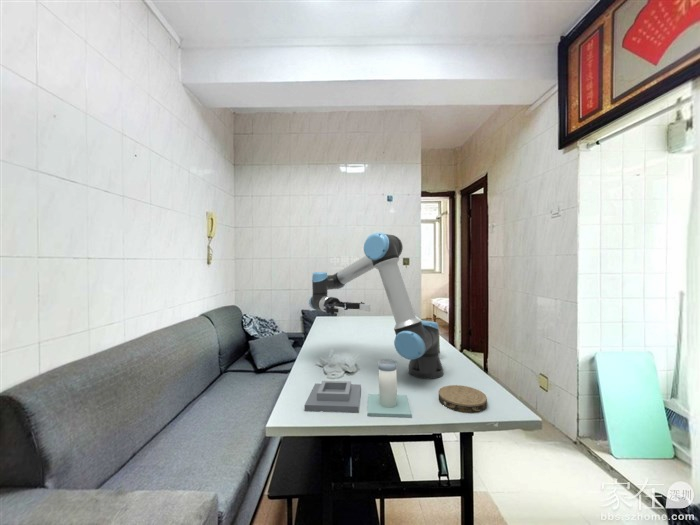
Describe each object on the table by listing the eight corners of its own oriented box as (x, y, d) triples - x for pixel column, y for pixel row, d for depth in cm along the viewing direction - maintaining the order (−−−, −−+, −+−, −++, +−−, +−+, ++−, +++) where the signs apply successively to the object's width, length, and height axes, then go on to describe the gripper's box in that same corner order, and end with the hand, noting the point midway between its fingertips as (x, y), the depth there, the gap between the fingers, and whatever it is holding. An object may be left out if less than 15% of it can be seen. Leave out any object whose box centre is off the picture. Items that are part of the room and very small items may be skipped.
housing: (361, 389, 116) (360, 378, 116) (358, 412, 98) (358, 398, 98) (315, 388, 117) (315, 377, 117) (304, 411, 99) (304, 397, 99)
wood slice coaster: (495, 414, 96) (495, 404, 96) (446, 414, 97) (446, 404, 97) (476, 393, 112) (475, 385, 112) (433, 393, 113) (433, 385, 113)
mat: (406, 397, 108) (406, 395, 108) (411, 417, 94) (411, 414, 94) (368, 396, 109) (368, 394, 109) (367, 416, 95) (367, 412, 95)
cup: (396, 399, 105) (395, 359, 105) (398, 407, 98) (397, 365, 99) (379, 399, 105) (378, 359, 105) (379, 407, 99) (378, 365, 99)
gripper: (351, 310, 149) (379, 315, 132) (307, 315, 135) (332, 322, 118) (351, 295, 150) (379, 298, 132) (306, 299, 135) (331, 303, 118)
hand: (357, 309), depth 125 cm, fingers open, 13 cm apart
